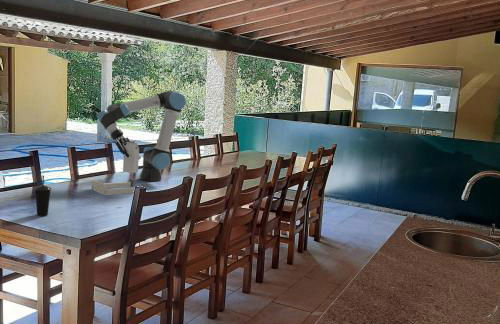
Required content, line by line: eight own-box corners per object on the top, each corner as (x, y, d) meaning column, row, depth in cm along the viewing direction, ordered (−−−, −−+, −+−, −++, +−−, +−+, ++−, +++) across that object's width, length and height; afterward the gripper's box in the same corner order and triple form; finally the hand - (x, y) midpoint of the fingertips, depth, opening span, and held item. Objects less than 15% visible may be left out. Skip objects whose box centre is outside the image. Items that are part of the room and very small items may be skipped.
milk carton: (133, 173, 314) (134, 143, 311) (122, 172, 315) (124, 142, 312) (138, 171, 321) (139, 142, 318) (127, 170, 322) (129, 141, 319)
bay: (131, 185, 330) (131, 176, 329) (145, 191, 317) (146, 182, 316) (91, 188, 312) (91, 179, 311) (104, 195, 298) (105, 185, 297)
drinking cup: (37, 212, 251) (37, 173, 248) (52, 213, 251) (53, 174, 248) (31, 216, 243) (32, 176, 240) (47, 217, 244) (48, 177, 241)
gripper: (120, 134, 329) (140, 161, 326) (101, 136, 309) (123, 165, 307) (127, 127, 326) (148, 154, 324) (109, 129, 307) (131, 158, 305)
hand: (135, 160), depth 316 cm, fingers closed on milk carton, 8 cm apart
